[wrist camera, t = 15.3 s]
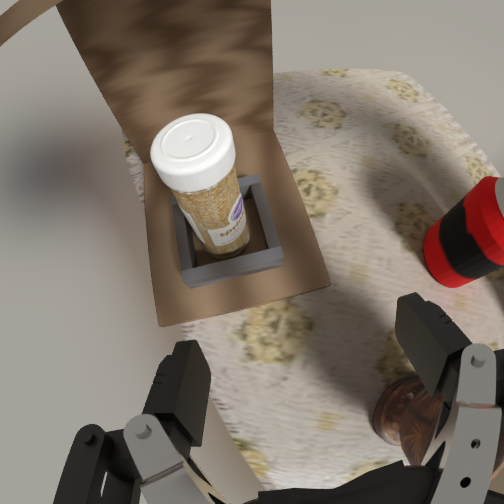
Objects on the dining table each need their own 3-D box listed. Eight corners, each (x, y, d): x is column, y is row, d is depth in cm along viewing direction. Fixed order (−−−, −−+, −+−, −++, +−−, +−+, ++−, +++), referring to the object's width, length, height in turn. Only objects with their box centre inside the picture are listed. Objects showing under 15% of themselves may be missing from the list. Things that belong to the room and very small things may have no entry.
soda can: (464, 298, 23) (540, 266, 11) (415, 272, 24) (488, 225, 13) (472, 241, 25) (533, 195, 13) (427, 214, 26) (483, 153, 15)
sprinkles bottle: (246, 262, 25) (223, 173, 12) (198, 257, 25) (136, 173, 12) (252, 217, 26) (238, 109, 13) (206, 214, 26) (162, 112, 14)
